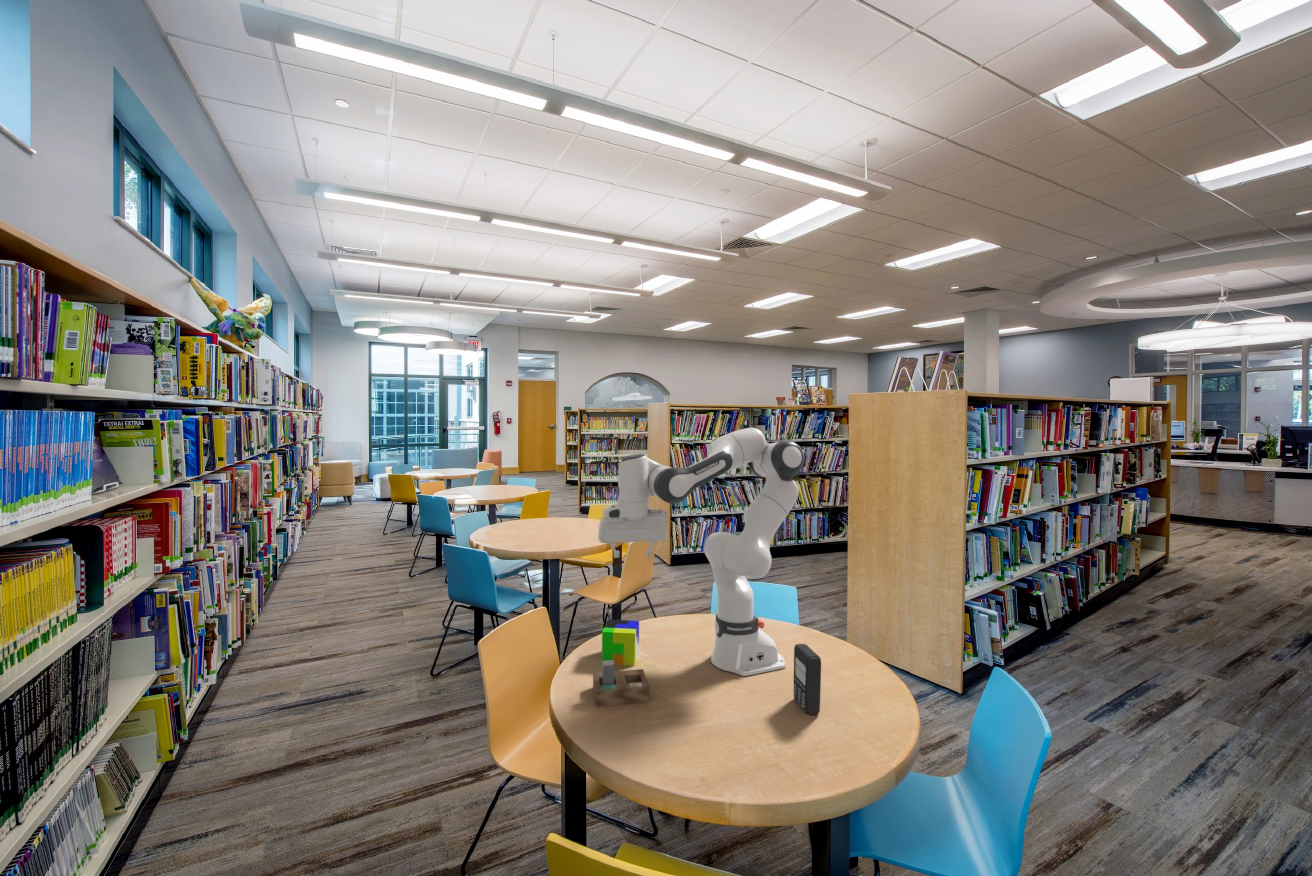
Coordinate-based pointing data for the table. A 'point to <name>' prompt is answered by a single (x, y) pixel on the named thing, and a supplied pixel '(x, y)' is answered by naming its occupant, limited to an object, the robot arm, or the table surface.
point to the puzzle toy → (620, 642)
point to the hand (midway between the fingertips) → (632, 556)
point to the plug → (608, 672)
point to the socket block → (621, 688)
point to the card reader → (807, 679)
